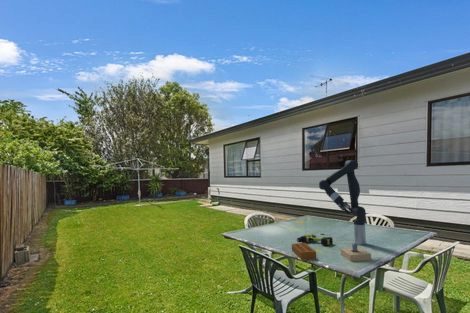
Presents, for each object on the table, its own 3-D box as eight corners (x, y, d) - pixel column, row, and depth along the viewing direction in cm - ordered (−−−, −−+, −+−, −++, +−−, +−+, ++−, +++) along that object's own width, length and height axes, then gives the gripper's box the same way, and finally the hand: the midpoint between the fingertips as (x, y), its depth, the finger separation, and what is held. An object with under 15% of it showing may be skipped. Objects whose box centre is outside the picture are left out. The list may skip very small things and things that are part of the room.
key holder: (340, 254, 218) (340, 248, 218) (360, 253, 219) (360, 247, 219) (350, 261, 202) (349, 254, 202) (371, 260, 203) (371, 253, 203)
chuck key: (352, 256, 212) (351, 243, 212) (356, 256, 212) (355, 243, 213) (354, 258, 208) (353, 244, 209) (358, 257, 209) (358, 244, 209)
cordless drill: (315, 249, 233) (293, 243, 254) (333, 244, 247) (311, 239, 268) (315, 240, 234) (293, 236, 254) (333, 236, 248) (311, 232, 268)
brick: (291, 250, 233) (291, 243, 234) (305, 250, 234) (305, 242, 235) (301, 260, 209) (300, 252, 209) (316, 259, 210) (316, 251, 210)
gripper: (336, 196, 231) (351, 211, 223) (342, 194, 242) (357, 208, 234) (330, 202, 235) (344, 217, 226) (337, 200, 245) (351, 214, 237)
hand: (351, 212), depth 230 cm, fingers open, 8 cm apart
